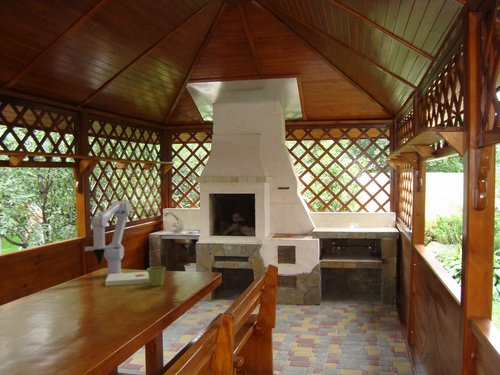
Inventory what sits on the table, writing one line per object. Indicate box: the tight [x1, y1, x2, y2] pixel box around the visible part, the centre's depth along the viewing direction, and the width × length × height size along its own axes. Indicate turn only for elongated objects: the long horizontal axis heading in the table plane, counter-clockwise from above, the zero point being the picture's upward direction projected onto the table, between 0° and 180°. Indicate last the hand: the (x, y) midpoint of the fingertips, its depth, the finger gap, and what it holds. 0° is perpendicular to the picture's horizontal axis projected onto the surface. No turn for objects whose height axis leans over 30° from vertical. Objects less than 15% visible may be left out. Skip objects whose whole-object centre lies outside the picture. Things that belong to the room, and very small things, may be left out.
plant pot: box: [146, 266, 166, 287], centre depth 216 cm, size 9×9×9 cm
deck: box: [104, 271, 150, 287], centre depth 226 cm, size 18×24×4 cm
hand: (99, 263), depth 225 cm, fingers closed
